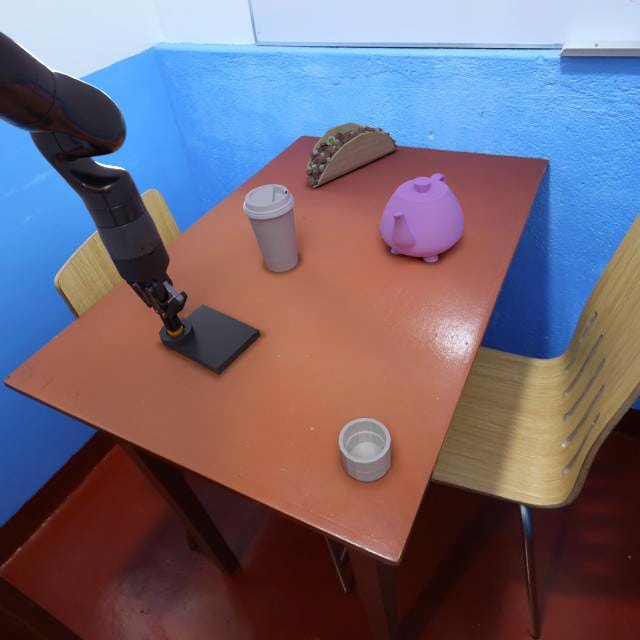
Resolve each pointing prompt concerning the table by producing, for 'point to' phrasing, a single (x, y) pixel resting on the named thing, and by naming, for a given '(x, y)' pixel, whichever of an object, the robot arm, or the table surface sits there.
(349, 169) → the taco
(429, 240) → the teapot
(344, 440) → the white round cup
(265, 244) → the coffee cup
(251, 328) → the dark grey flat slab
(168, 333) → the button
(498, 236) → the table surface
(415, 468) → the table surface
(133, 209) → the robot arm
